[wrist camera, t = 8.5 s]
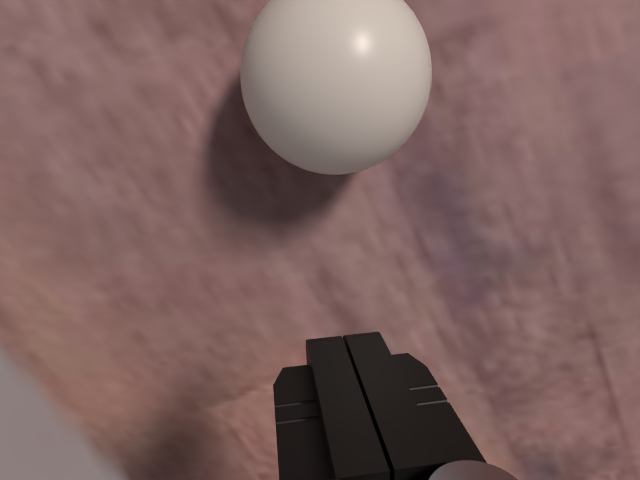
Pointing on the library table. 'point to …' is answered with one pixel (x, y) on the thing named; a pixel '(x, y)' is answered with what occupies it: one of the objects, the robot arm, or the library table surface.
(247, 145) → the library table surface
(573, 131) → the library table surface
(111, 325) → the library table surface
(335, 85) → the cue ball
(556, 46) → the library table surface
